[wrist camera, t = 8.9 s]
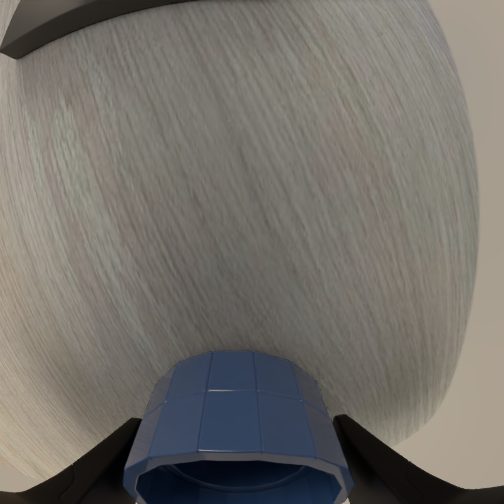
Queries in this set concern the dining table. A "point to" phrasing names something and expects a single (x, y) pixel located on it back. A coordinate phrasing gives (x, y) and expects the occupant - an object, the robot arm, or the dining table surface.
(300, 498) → the small dish
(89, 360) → the dining table surface
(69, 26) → the pad
